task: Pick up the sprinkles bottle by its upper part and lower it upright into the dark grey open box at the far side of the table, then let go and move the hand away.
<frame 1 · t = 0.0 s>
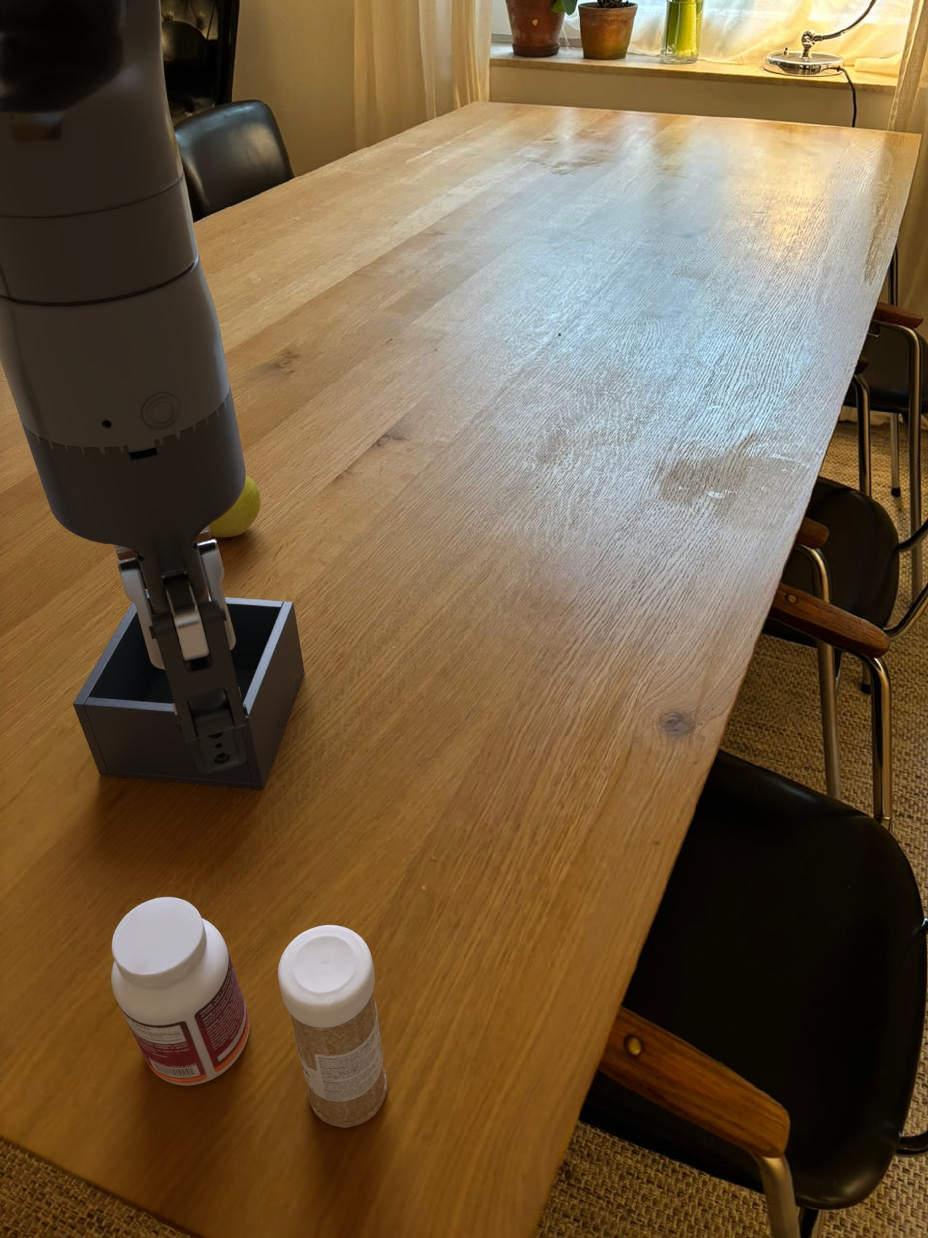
hand: (204, 700, 47), 24 cm above the table, tool pointing down, fingers open, 8 cm apart
fruit: (228, 533, 98), on the table
dark grey open box: (207, 721, 78), on the table
pill bottle: (198, 1039, 59), on the table
sprinkles bottle: (349, 1091, 56), on the table
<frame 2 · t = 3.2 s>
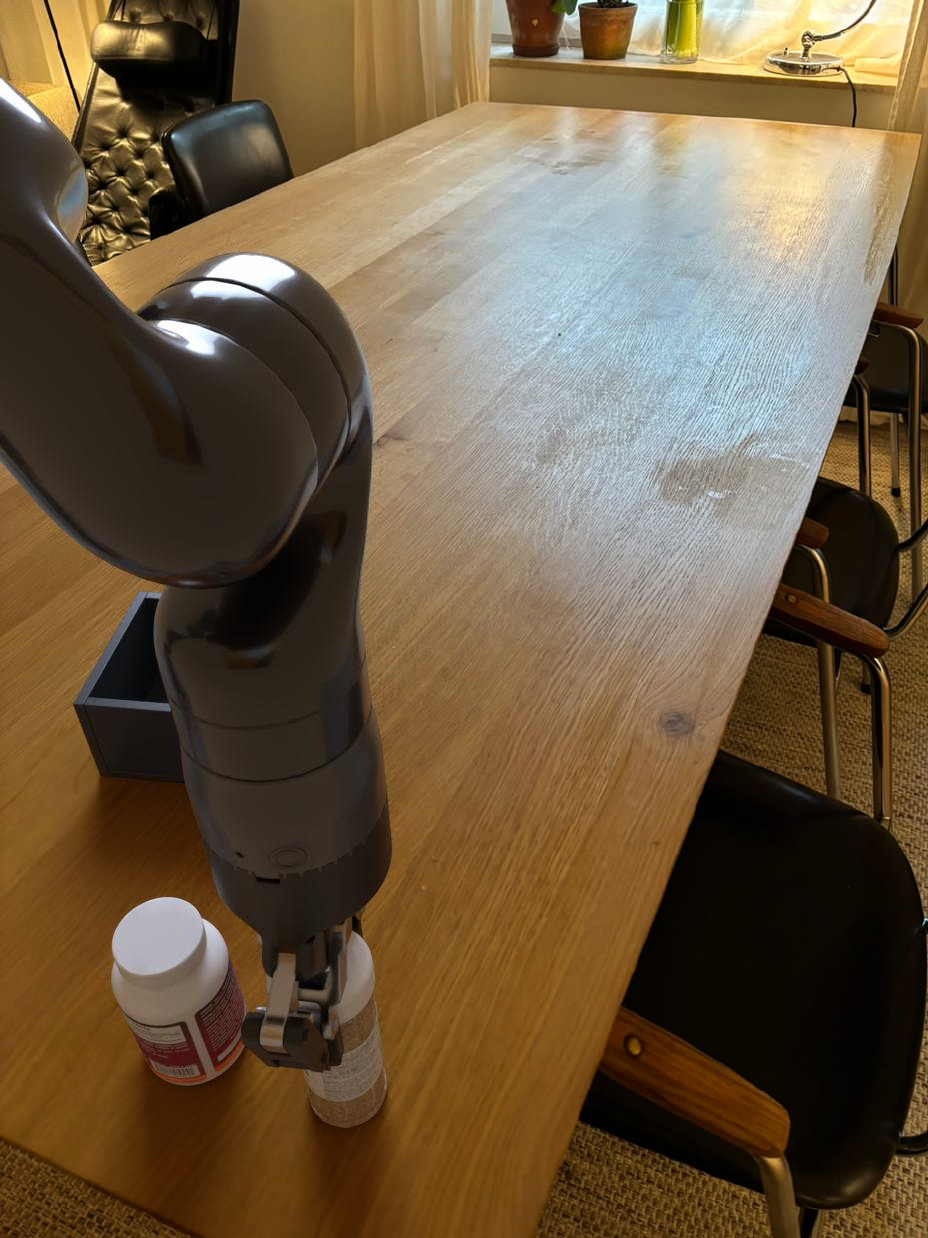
hand: (332, 1007, 50), 9 cm above the table, tool pointing down, fingers closed on sprinkles bottle, 4 cm apart
sprinkles bottle: (349, 1091, 56), on the table, touching gripper
everything else where it was.
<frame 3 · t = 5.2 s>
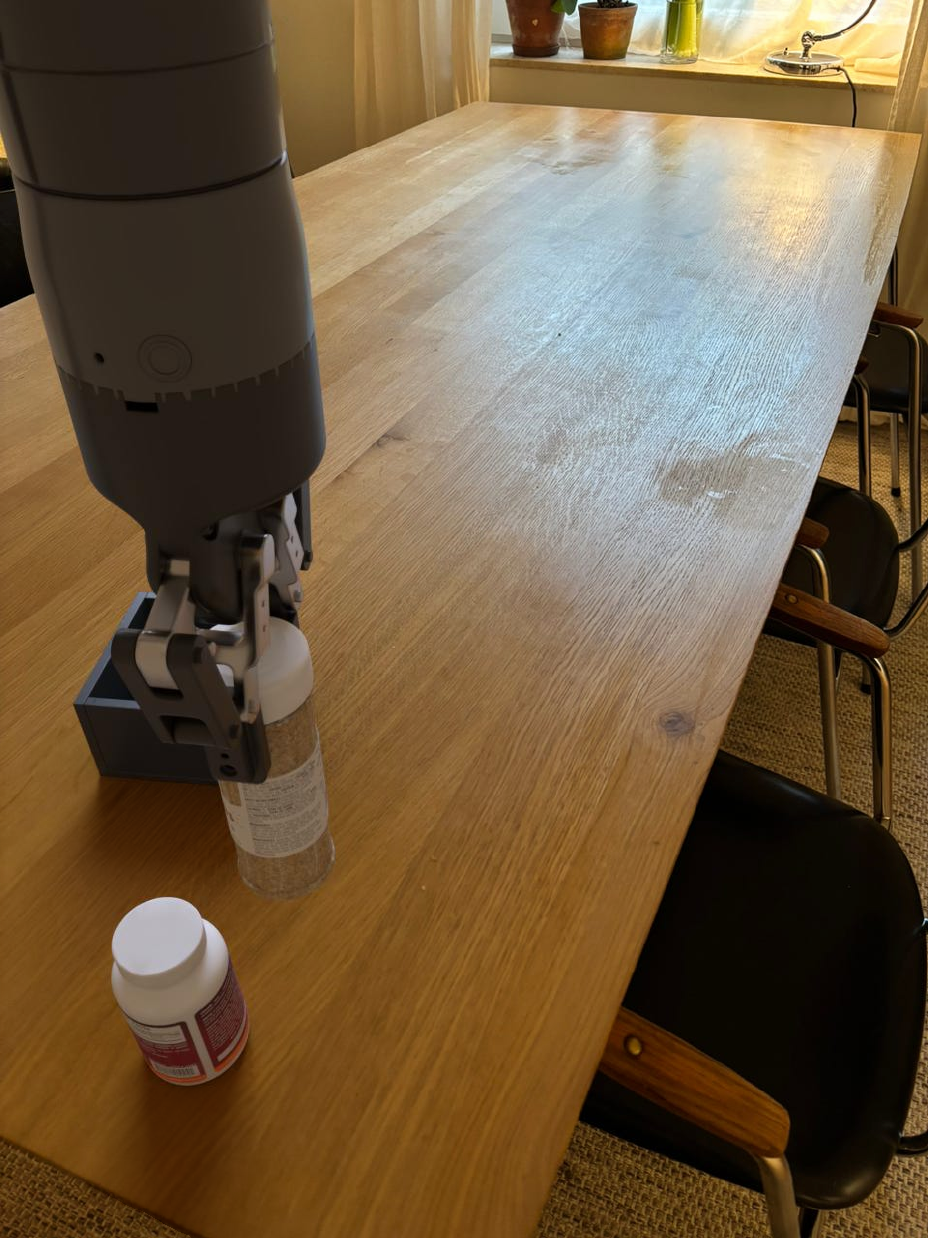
hand: (261, 724, 40), 28 cm above the table, tool pointing down, fingers closed on sprinkles bottle, 4 cm apart
sprinkles bottle: (289, 866, 46), point 18 cm above the table, touching gripper
everything else where it was.
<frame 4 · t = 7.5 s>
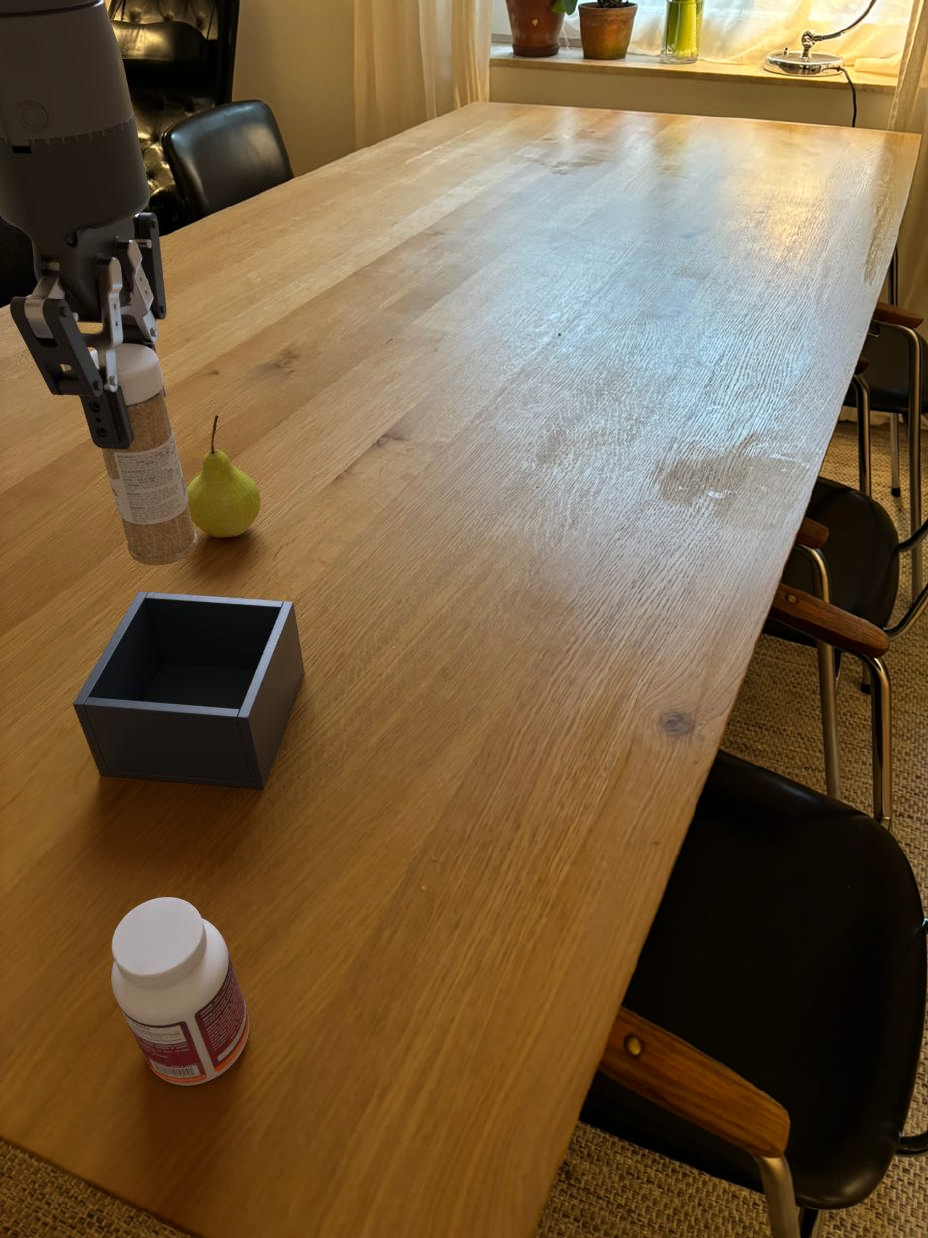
hand: (131, 422, 59), 27 cm above the table, tool pointing down, fingers closed on sprinkles bottle, 4 cm apart
sprinkles bottle: (165, 550, 65), point 18 cm above the table, touching gripper
everything else where it was.
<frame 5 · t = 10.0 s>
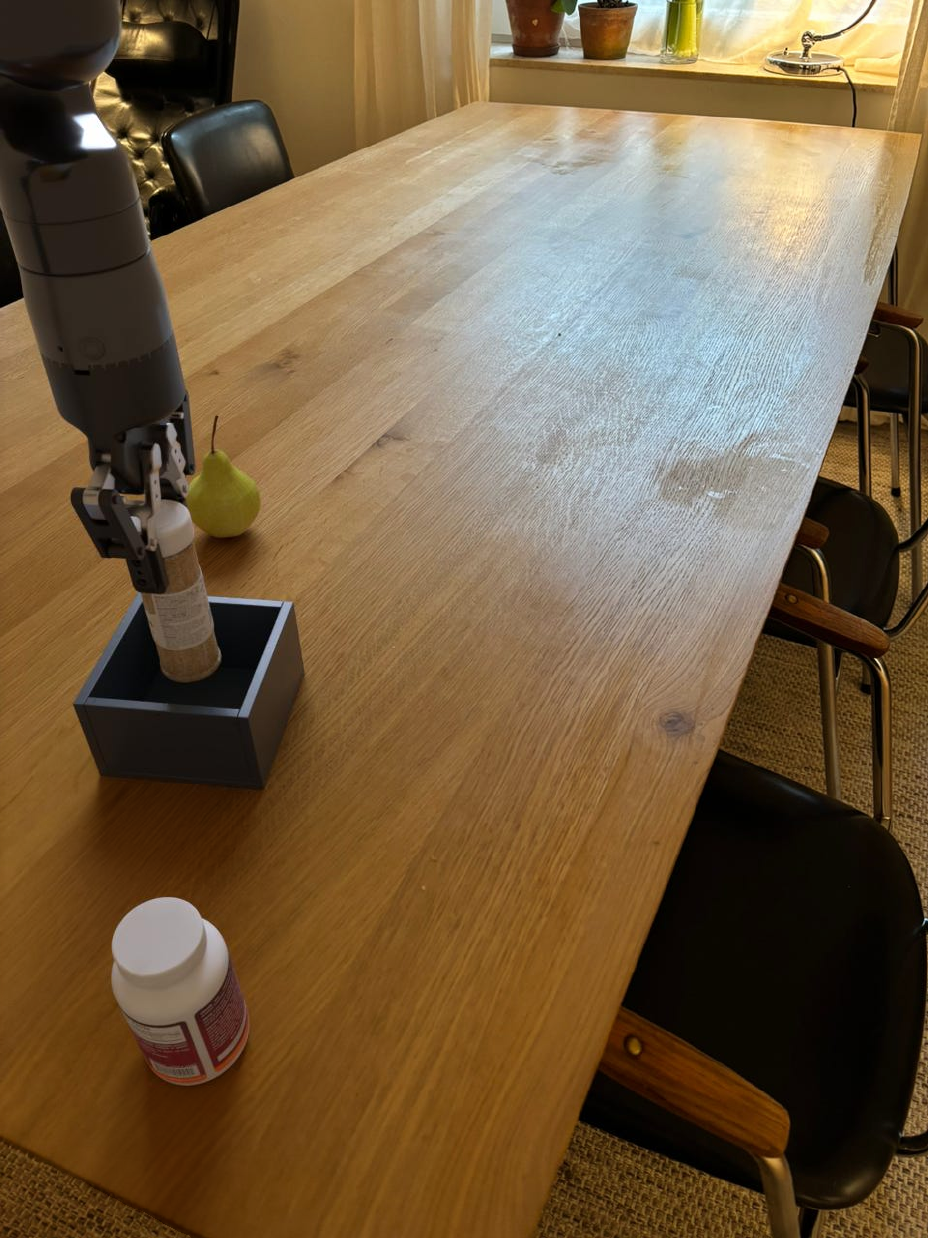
hand: (165, 565, 68), 15 cm above the table, tool pointing down, fingers closed on sprinkles bottle, 4 cm apart
sprinkles bottle: (192, 666, 74), point 6 cm above the table, touching gripper
everything else where it was.
when the fingers open (10 cm above the table, at t = 11.8 s): sprinkles bottle stays where it is, resting on dark grey open box.
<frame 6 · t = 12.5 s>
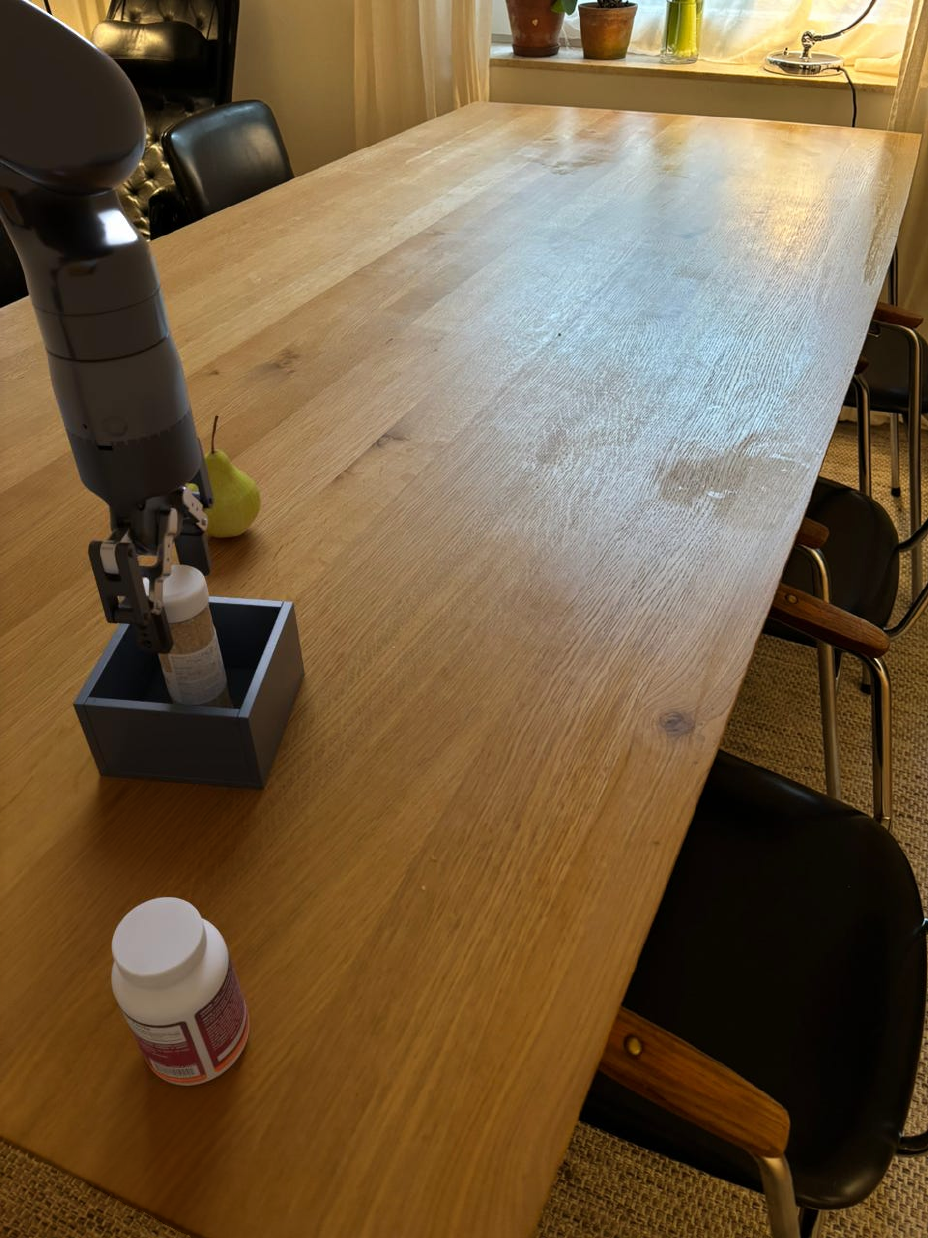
hand: (178, 610, 71), 11 cm above the table, tool pointing down, fingers open, 8 cm apart
sprinkles bottle: (206, 718, 78), resting on dark grey open box
everything else where it was.
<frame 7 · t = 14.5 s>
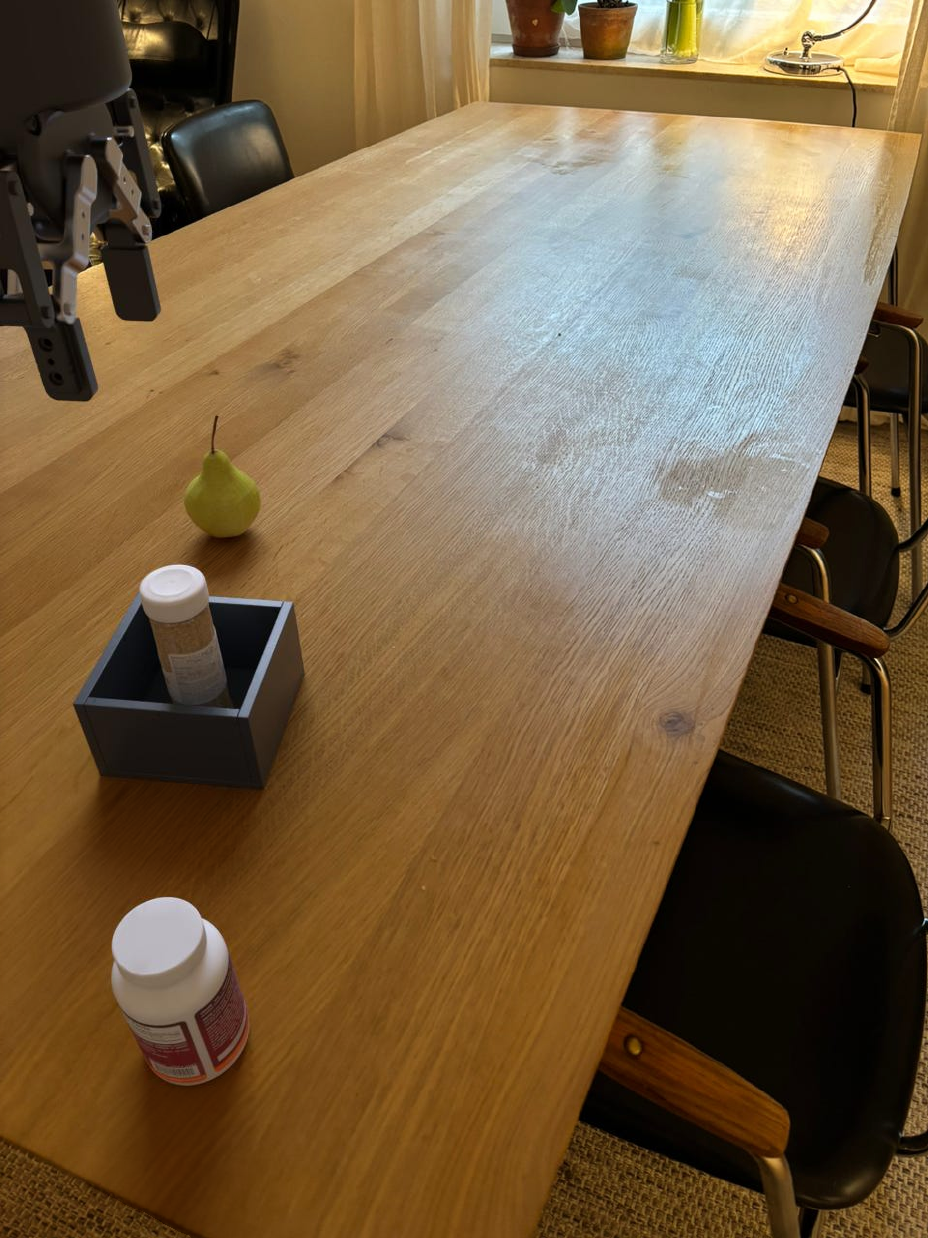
hand: (109, 355, 48), 35 cm above the table, tool pointing down, fingers open, 8 cm apart
nothing on the table moved.
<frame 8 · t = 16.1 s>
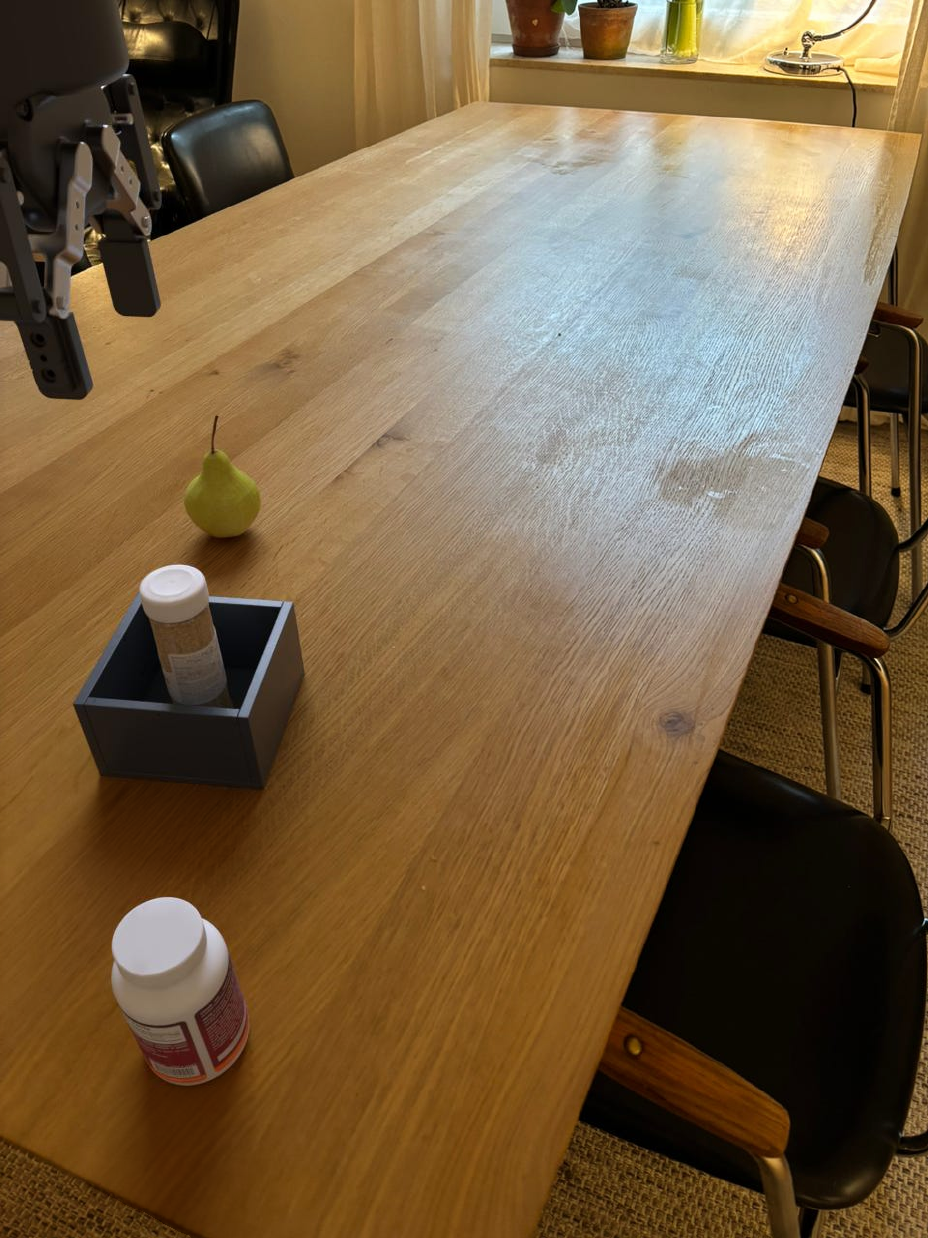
hand: (106, 352, 47), 36 cm above the table, tool pointing down, fingers open, 8 cm apart
nothing on the table moved.
at the end: sprinkles bottle inside the target area in the dark grey open box (0.1 cm from its centre), point 0.4 cm above the dark grey open box's base; sprinkles bottle tilted 0°; the gripper is holding nothing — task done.
